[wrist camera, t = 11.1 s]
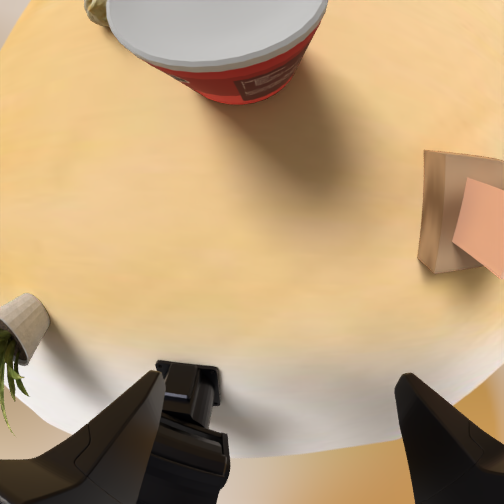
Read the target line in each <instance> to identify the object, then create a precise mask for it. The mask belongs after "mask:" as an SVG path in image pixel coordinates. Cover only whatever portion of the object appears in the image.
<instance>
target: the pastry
mask: <svg viewBox="0 0 504 504" xmlns="http://www.w3.org/2000/svg"><path fill="white" fill-rule="evenodd" d="M106 3H107V0H84V7H85V11H86V12H87V16H88V17H89V19H90V20H91V21H92V22H94V23H96V24H98V25H101V26H108V27H110V26H109V23H108V20H107V11H106Z"/></svg>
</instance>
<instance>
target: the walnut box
mask: <svg viewBox="0 0 504 504" xmlns="http://www.w3.org/2000/svg"><path fill="white" fill-rule="evenodd" d="M467 177H468V178H471V179H474V180H477V181H479V182H482V183H485V184H488V185H491V186H493V187H496V188H499V189H501V190H504V161H503V160H499V159H495V158H489V157H482V156H475V155H468V154H460V153H451V152H441V151H429V150H424V188H423V208H422V221H421V231H420V241H419V249H418V256H417V258H418V259H419V260H420V261H421V262H422V263H424V264H425V265H426V266H427V267H428V268H429V269H430V270H431V271H432V272H433V273H434V274H437V273H444V272H450V271H457V270H463V269H469V268H475V267H481V266H484V265H482V264H481V263H480V262H479V261H477V260H476V259H475V258H473V257H472V256H471V255H469V254H468V253H467V252H465V251H464V250H463V249H461V248H460V247H459V246H457V245H456V244H455V243H453V242H452V240H453V236H454V233H455V229H456V226H457V222H458V218H459V214H460V210H461V206H462V201H463V197H464V192H465V187H466V182H467Z"/></svg>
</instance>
